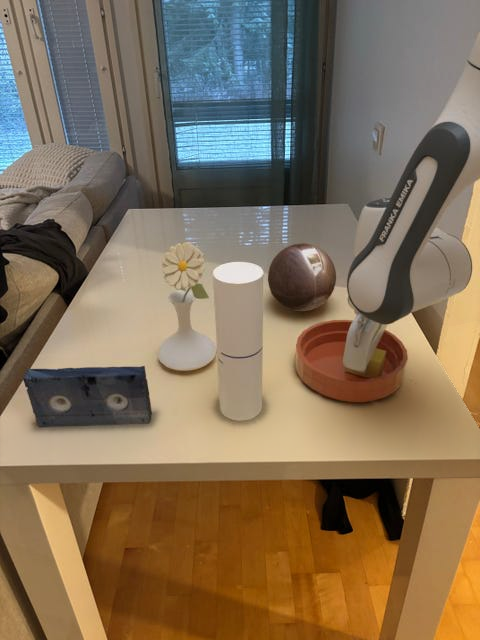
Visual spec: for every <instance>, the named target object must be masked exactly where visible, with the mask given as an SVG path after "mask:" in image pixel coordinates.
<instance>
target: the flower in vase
mask: <svg viewBox="0 0 480 640" xmlns="http://www.w3.org/2000/svg"><path fill="white" fill-rule="evenodd" d="M161 262H162V263H161V267H162V268H163V269H162V273H163V274H164V276H163V280H164V281H165V283H169V284H168V285H169V286H170V287H174V288H175V291H173V292H171V293H169V295H168V296H167V299H168V301H169V302H170V303H171V304H172V305H173V307H174V309H175V311H176V316H177V322H178V329H177V331H176V332H174V333H173V334H171V335H170V336H168V337H167V338H165V339H164V341H163V342H161V344H160V345H159V347H158V350H157V359H158V360H159V362H160V363H161V364H162V365H163V366H165V367H166V368H168V369H170V370H174V371H178V372H179V371H180V372H187V371H194V370H198V369H202V368H203V367H205V366H207V365H209V364H210V363H211V362H212V361H213V360H214V358H215V357H216V356H217V345H216V344H215V342H214V340H212V339H211V338H210V337H209V336H208V335H206V334H204V333H202V332H199V331H196V330H194V328H193V327H192V323H191V310H192V309H191V308H192V306H193V305H192V304H193V302H194V301H195V300H196V299H199V300H204V299H205V300H206V299H210V296H209V294H208V293H207V290H206V289H205V288H204V286H203V284H202V283H199V279H201V278H202V277H203V274H204V271H205V270H206V268H207V267H206V265H205V258H204V253H203V252H202V251H201V250H200V249H199V248H198V247H197V246H194V245H193V244H192V243H190V242H188V241H185V242H183V243H182V244H181V243H180V242H179V243H176V245H172V246H170V247H169V250H168V251H166V252H165V253H164V258H163V259H162V261H161Z"/></svg>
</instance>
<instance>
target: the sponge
mask: <svg viewBox="0 0 480 640" xmlns="http://www.w3.org/2000/svg"><path fill="white" fill-rule="evenodd" d="M385 355H386V351H385V350H381V349H377V348H376V349H375V351H374V353H373V355H372V357H371V359H370V361H369V363H368V368H367V371H366V372H365V373H364V374H363V373H359V372H357V371H355V370H352V369H349V368H346V367H345V371H346V372H349V373H353V374H356V375H359V376H363V377H366V378H370V379H372V378H377V377H380V374H381V372H382V370H383V366H384V361H385Z"/></svg>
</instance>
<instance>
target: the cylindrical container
mask: <svg viewBox="0 0 480 640" xmlns="http://www.w3.org/2000/svg"><path fill="white" fill-rule="evenodd" d="M212 277H213V278H212V281H213V282H212V283H213V300H214V301H213V302H214V319H215V320H214V321H215V337H216V338H215V339H216V340H215V341H216V349H217V351H216V358H217V377H218V394H219V395H218V397H219V398H218V399H219V409H220V412H221V413H222V415H223V416H224V417H226V418H227V419H229V420H232V421H240V422H244V421H249V420H253V419H254V418H256V417H258V415H259V414H260V413H261V411H262V410H263V356H264V355H263V349H264V348H263V347H264V346H263V344H264V341H263V340H264V269H263V268H262V267H261V266H260V265H257V264H255V263H251V262H247V261H232V262H231V261H230V262H226V263H223V264H220V265H218V266H217V267H215V268H214V270H212Z"/></svg>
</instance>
